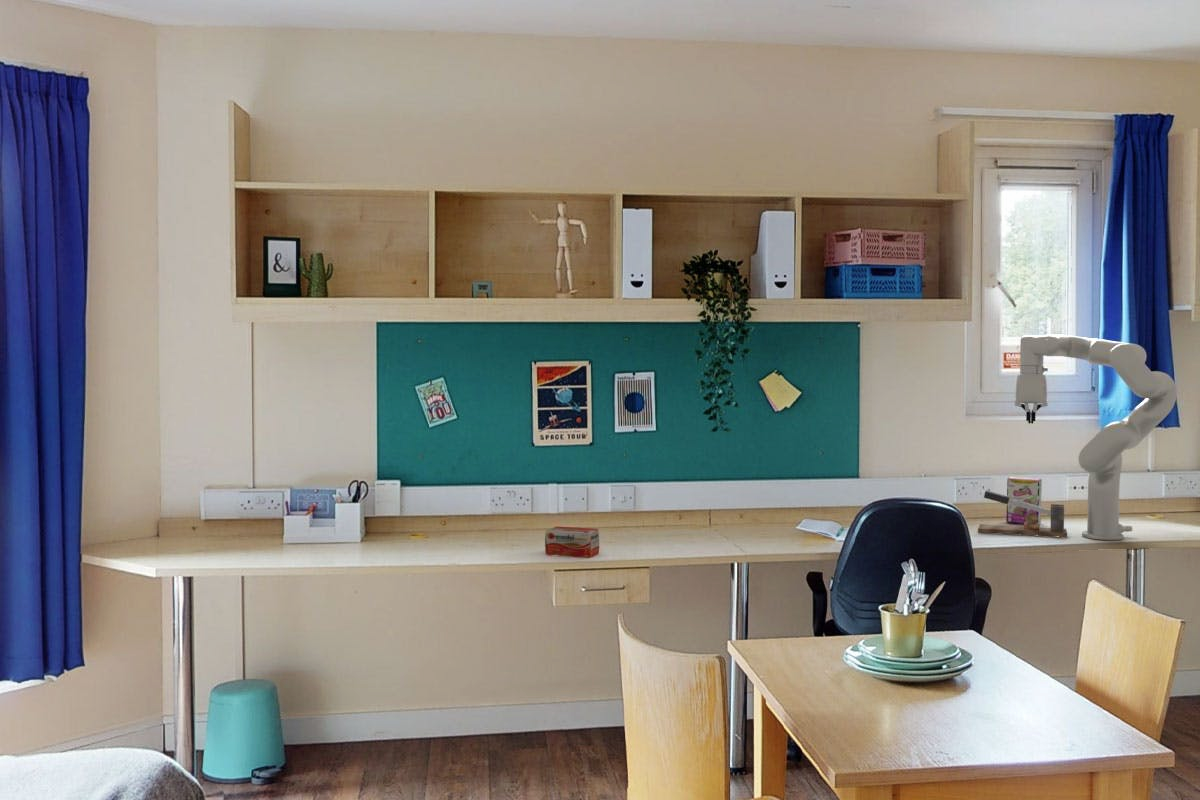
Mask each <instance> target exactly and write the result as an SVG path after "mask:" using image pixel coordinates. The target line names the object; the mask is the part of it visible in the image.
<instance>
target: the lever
mask: <svg viewBox="0 0 1200 800" xmlns="http://www.w3.org/2000/svg"><path fill="white" fill-rule="evenodd" d="M983 499H987V500H990V501H991V500H992V501H994V502H999V503H1001V504H1005V505H1007V504H1008V503H1009V504H1012V505H1016V506H1019V507H1023V508H1026V509H1030V510H1033V511H1037V512H1040V513H1041V514H1045V515H1047V516H1048V515H1049V516H1051V508H1046V507H1042V506H1041V507H1040V506H1036V505H1032V504H1029V503H1025V502H1022V501H1018V500H1015V499H1011V498H1009V497H1008V496H1007V495H1004V494H1000V493H996V492H993V491H991V490H985V491H984V495H983Z"/></svg>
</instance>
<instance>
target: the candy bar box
mask: <svg viewBox="0 0 1200 800" xmlns="http://www.w3.org/2000/svg"><path fill="white" fill-rule="evenodd" d="M1042 483H1043V479H1042V478H1032V477H1031V478H1030V477H1018V476H1016V477H1015V476H1009V477H1007V481H1006V485H1007V487H1006V496H1008V497H1009V498H1011V499H1015V500H1018V501H1022V502H1025V503H1029V504H1032V505H1036V506H1040V507H1042V488H1043V486H1042V485H1043V484H1042ZM1029 513H1035V514H1036V515H1037V516H1038V521H1037V523H1039V525H1040V524H1041V523H1042V513H1040V512H1037V511H1033V510H1030V509H1026V508H1023V507H1019V506H1016V505H1012V504H1009V503H1008V504H1006V517H1005V521H1006V523H1007V522H1010V524H1017V523H1022V525H1024V523H1025V522H1026V515H1027V514H1029Z"/></svg>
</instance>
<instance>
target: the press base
mask: <svg viewBox="0 0 1200 800" xmlns="http://www.w3.org/2000/svg"><path fill="white" fill-rule="evenodd" d="M1050 510H1051V515H1050V527H1041V526H1040V524H1039V523H1037V521H1038V516H1037V515H1036V514H1035V513H1029V514H1027V515H1026V522H1025V523H1024V524H1023V525H1024V526H1020V525H1005V524H1004V525H1003V524H984V523H979V525H978V527H977V528H978V530H977V531H978V532H983V533H982V534H990V533H1001V534H1000V535H1008V534H1021V535H1020V536H1025V535H1038V536H1037V537H1043V536H1059V537H1058V538H1061V537H1067V538H1068V530H1067V528H1065V506H1064V504H1058V503H1057V504H1056V503H1050Z"/></svg>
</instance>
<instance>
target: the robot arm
mask: <svg viewBox="0 0 1200 800" xmlns="http://www.w3.org/2000/svg"><path fill="white" fill-rule="evenodd" d="M1019 349H1020V352H1019V354H1020V355H1019V357H1020V358H1019V374H1017V377H1016V384H1015V402H1014V406H1015V407H1019V408H1021V409H1022V410H1024V411H1025V413H1026V415H1025V419H1026V422H1027V423H1028V424H1034V422H1036V412H1037V411H1039V410H1040V408H1045V407H1047V406H1048V401H1047V399H1048V386H1047V385H1048V384H1047V382H1048V381H1047V375H1046V374H1044V372H1048V367H1046V366H1044V357H1065V358H1071V359H1072V358H1073V359H1077V360H1083V361H1087V362H1089V364H1092V365H1099V366H1103V367H1104V366H1105V367H1111V368H1113V369H1114V371H1115V372H1116V374H1118V376H1119V377H1120V378H1121V380H1122V381H1123V382H1124V383H1125V385H1126V386H1127V387H1128V389H1130V391H1131V392H1133V394H1134V395H1136V396H1137V397H1139V398H1142V399H1143V400H1142V402H1140V403H1139V404H1138V405H1136V406H1135V408H1133V409H1132V411H1131V412H1129V413H1128V414H1127V415H1126V416H1125V417H1124V418H1122V419H1121V420H1116V421H1112V422H1110V423H1108V424H1106V425H1105V426H1104V427H1102V428H1101V430H1100V431H1098V432H1097V433H1096V434H1095V436H1093V438H1092V439H1091V440H1090V441H1088V443H1086V444H1085V445H1084V446H1083V448H1082V449H1081V450H1080V452H1079V454H1078V464H1079V466H1080V468H1081V469H1082V470H1083V471H1084V472H1087V473H1089V474H1088V482H1087V516H1086V517H1087V521H1086V524H1087V525H1086V526H1087V529H1086V531H1083V532H1082V533H1081V536H1082V537H1083V538H1087V539H1093V540H1102V541H1119V540H1123V539H1124V537H1125V536H1124V534H1122V533H1124V532H1125V533H1127V532H1132V531H1133V526H1132V525H1123V524H1120V523H1119V522H1120V517H1119V516H1120V488H1121V487H1120V483H1121V482H1120V481H1121V472H1122V467H1123V455H1122V453H1123V452H1124V451H1125V450H1130V449H1133V448H1136V447H1137V446H1138V445H1140V443H1141V442H1142V441H1143V440H1144V439H1146V437H1147V436H1149V434H1150V433H1151V432H1152V431H1153V430H1154V429H1155V428H1156V427H1157V426H1158V425H1159V424H1160V423H1161V422H1162V421H1163V420H1164V419H1165V418H1166V417H1167V416H1168V415H1169V414H1170V413H1171V411H1172V410H1173V408H1174V406H1175V403H1176V400H1177V387H1176V383H1175V382H1174V380H1173V378H1172V377H1171V376H1170V375H1169V374H1168V373H1166V372H1162V371H1157V370H1155V371H1154V370H1153V371H1151V369H1150V368H1149V367H1148V366H1147V364H1146V361H1147V352H1146V349H1145V348H1144V347H1142V346H1141V345H1139V344H1137V343H1131V342H1124V341H1115V340H1109V339H1108V340H1107V339H1101V338H1089V337H1082V336H1074V335H1068V334H1067V335H1066V334H1059V333H1058V334H1055V333H1054V334H1052V333H1051V334H1044V335H1035V334H1033V335H1032V334H1031V335H1030V334H1029V335H1028V334H1027V335H1023V336H1021V337H1020V348H1019ZM1029 404H1033V407H1032V409H1030V407H1029V406H1030V405H1029Z"/></svg>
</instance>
